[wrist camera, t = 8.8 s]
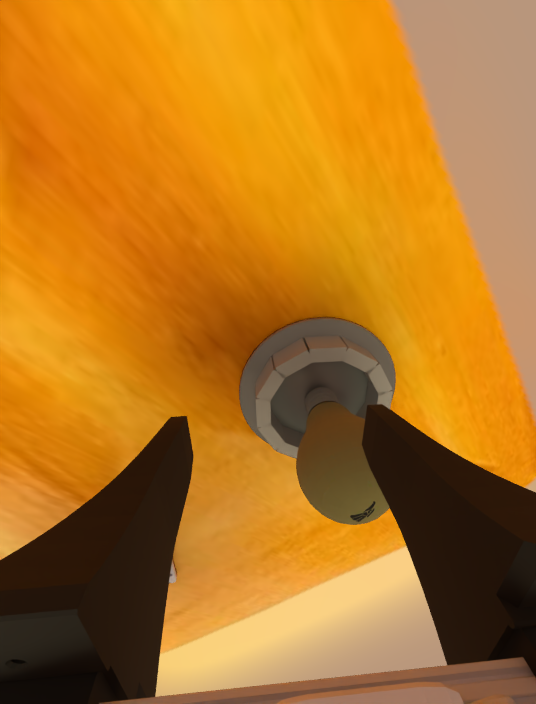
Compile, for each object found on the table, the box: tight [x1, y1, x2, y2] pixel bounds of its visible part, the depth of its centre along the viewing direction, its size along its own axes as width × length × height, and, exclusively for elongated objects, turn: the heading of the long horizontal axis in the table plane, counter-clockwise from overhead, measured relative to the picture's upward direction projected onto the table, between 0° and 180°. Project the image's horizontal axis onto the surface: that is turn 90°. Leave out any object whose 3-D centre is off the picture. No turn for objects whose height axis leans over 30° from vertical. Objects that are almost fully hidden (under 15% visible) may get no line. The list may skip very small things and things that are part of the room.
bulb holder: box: [240, 317, 396, 459], centre depth 23 cm, size 12×12×2 cm
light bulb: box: [296, 387, 390, 525], centre depth 19 cm, size 6×6×10 cm
